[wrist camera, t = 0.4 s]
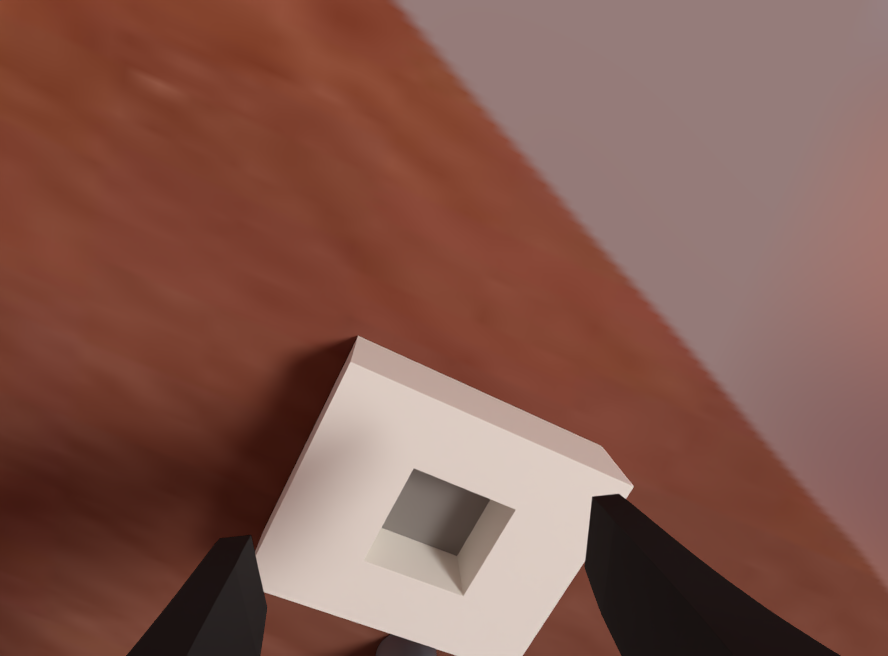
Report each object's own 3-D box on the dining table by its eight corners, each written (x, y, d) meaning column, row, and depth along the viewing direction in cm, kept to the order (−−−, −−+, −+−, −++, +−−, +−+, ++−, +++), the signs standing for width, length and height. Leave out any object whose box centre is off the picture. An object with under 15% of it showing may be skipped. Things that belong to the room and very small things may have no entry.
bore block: (496, 612, 24) (510, 673, 21) (263, 529, 22) (241, 584, 19) (601, 446, 22) (633, 486, 19) (358, 335, 20) (350, 362, 17)
